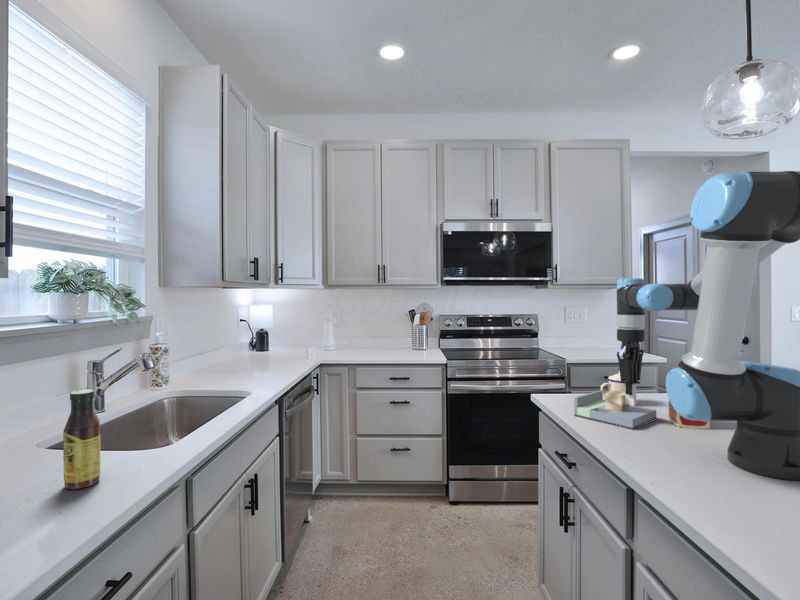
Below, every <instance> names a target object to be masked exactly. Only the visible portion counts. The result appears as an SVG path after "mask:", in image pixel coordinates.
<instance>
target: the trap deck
mask: <svg viewBox="0 0 800 600" xmlns="http://www.w3.org/2000/svg"><path fill="white" fill-rule="evenodd" d="M603 397H604V396H603V394H602V391H601V389H600V390H597V391H593V392H590V393H585V394H582V395H578V396H574V397H573V398H574V406H573V407H574V408H573V410H574V415H573V416H574V417H578V418H581V419H587V420H590V421H595V422H599V423H602V422H603V424H606V423H608V424H607V425H610V424H612V425H611V426H615V425H617V426H616V427H619V426H621V427H620V428H623V427H625V428H624V429H627V428H629V430H631V429H633V430H635V429H634V428H636V429H638V428H640V427H642V426H641V425H643V424H645V423H647V422H650V421H652V420H654V421H656V420H657V409H653V408H648V407H642V406H637V405H635V406H632V405H629V409H628V410H625V411H622V412H620V411H615V410H610V409H606V408H605V399H603ZM655 419H656V420H655ZM652 422H653V421H652ZM650 423H651V422H650ZM647 424H648V423H647ZM645 425H646V424H645ZM639 426H640V427H639ZM643 426H644V425H643ZM637 427H638V428H637Z"/></svg>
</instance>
